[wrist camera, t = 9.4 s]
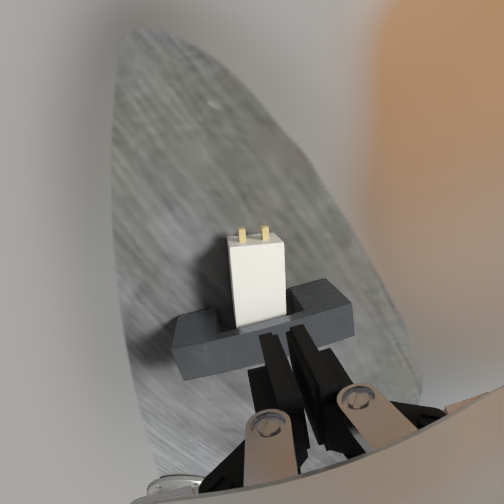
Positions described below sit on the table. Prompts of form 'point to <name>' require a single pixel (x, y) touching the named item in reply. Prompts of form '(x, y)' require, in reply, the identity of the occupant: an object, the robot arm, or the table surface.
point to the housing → (259, 332)
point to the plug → (257, 276)
